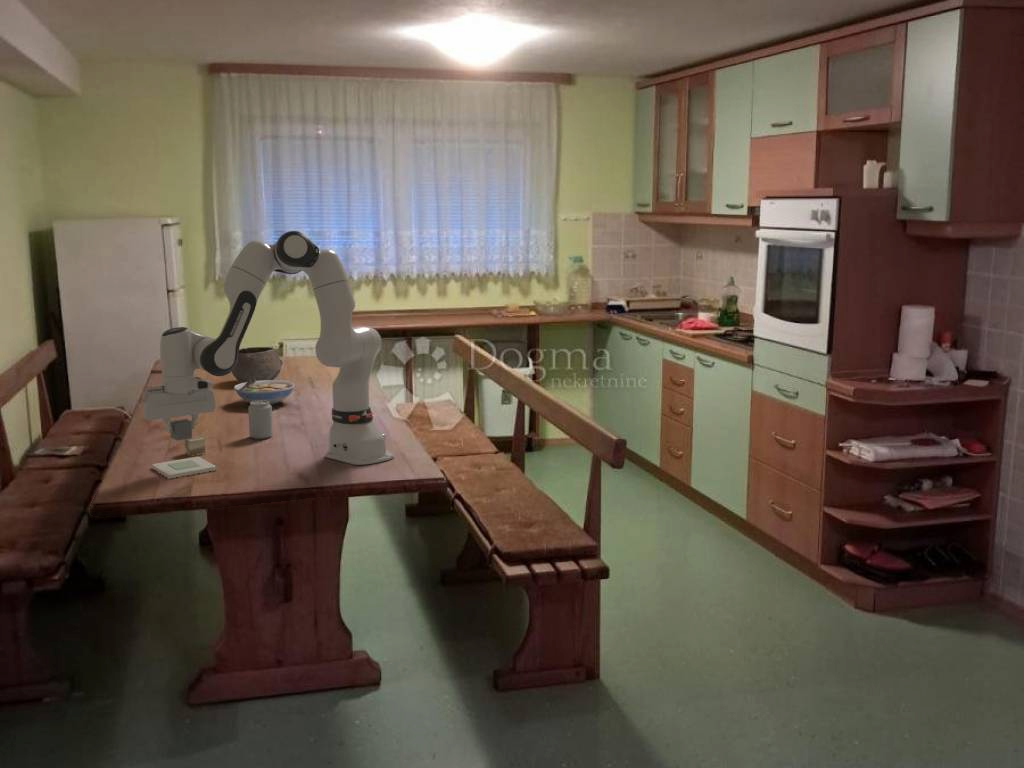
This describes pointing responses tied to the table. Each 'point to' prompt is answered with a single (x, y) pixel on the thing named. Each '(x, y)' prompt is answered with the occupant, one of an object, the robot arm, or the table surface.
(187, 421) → the grey block
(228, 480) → the table surface
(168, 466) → the build board
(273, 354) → the clay pot
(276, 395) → the ramen bowl
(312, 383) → the table surface
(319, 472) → the table surface
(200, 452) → the birch block
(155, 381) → the table surface
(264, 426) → the can
